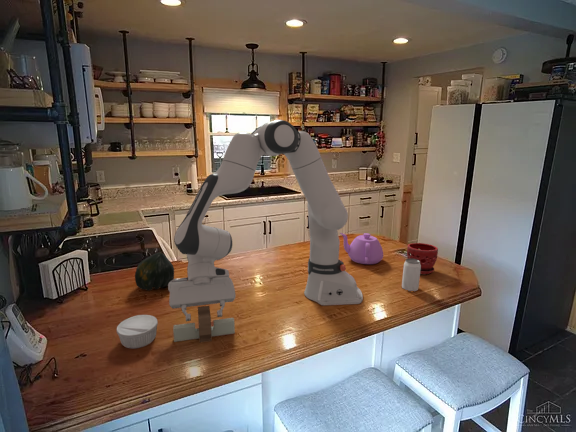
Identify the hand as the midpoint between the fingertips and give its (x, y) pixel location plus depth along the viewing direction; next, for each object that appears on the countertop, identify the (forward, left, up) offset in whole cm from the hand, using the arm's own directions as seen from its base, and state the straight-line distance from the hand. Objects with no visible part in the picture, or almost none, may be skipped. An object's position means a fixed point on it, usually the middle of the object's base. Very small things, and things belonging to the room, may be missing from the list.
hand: (204, 318), depth 105 cm
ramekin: (+19, +5, -6) cm, 20 cm away
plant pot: (-83, -60, -6) cm, 103 cm away
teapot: (-57, -71, -6) cm, 92 cm away
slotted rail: (0, +1, -5) cm, 5 cm away
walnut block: (0, +1, -5) cm, 5 cm away
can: (-73, -40, -6) cm, 84 cm away
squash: (+30, -31, -6) cm, 44 cm away
